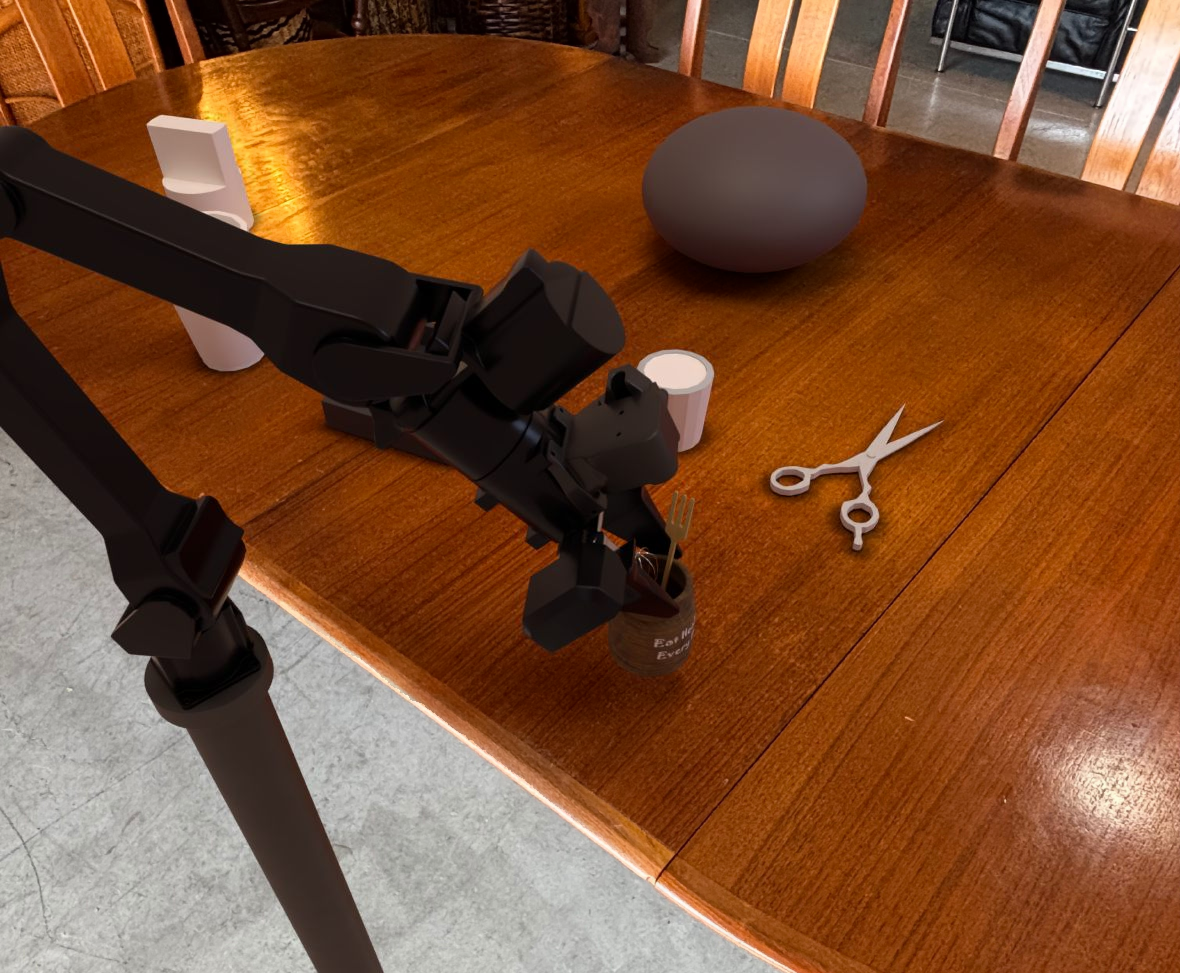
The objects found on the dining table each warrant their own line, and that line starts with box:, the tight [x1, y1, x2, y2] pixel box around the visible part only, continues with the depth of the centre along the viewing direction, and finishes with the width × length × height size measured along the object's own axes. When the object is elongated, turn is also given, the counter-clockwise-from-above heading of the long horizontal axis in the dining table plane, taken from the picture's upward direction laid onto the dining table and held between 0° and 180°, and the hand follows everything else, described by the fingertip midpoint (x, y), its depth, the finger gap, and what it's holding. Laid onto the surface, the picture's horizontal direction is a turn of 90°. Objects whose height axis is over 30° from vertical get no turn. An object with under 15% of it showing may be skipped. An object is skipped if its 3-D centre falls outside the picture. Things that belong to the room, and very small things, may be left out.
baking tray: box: [320, 322, 451, 466], centre depth 95 cm, size 16×14×3 cm
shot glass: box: [636, 348, 715, 453], centre depth 89 cm, size 7×7×7 cm
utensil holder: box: [607, 490, 696, 678], centre depth 65 cm, size 6×6×12 cm
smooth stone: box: [641, 105, 868, 274], centre depth 109 cm, size 25×25×15 cm
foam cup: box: [172, 211, 265, 372], centre depth 97 cm, size 10×9×13 cm
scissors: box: [769, 402, 945, 551], centre depth 88 cm, size 11×1×20 cm
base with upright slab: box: [146, 114, 255, 230], centre depth 116 cm, size 9×9×12 cm
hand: (676, 585), depth 65 cm, fingers closed on utensil holder, 5 cm apart
